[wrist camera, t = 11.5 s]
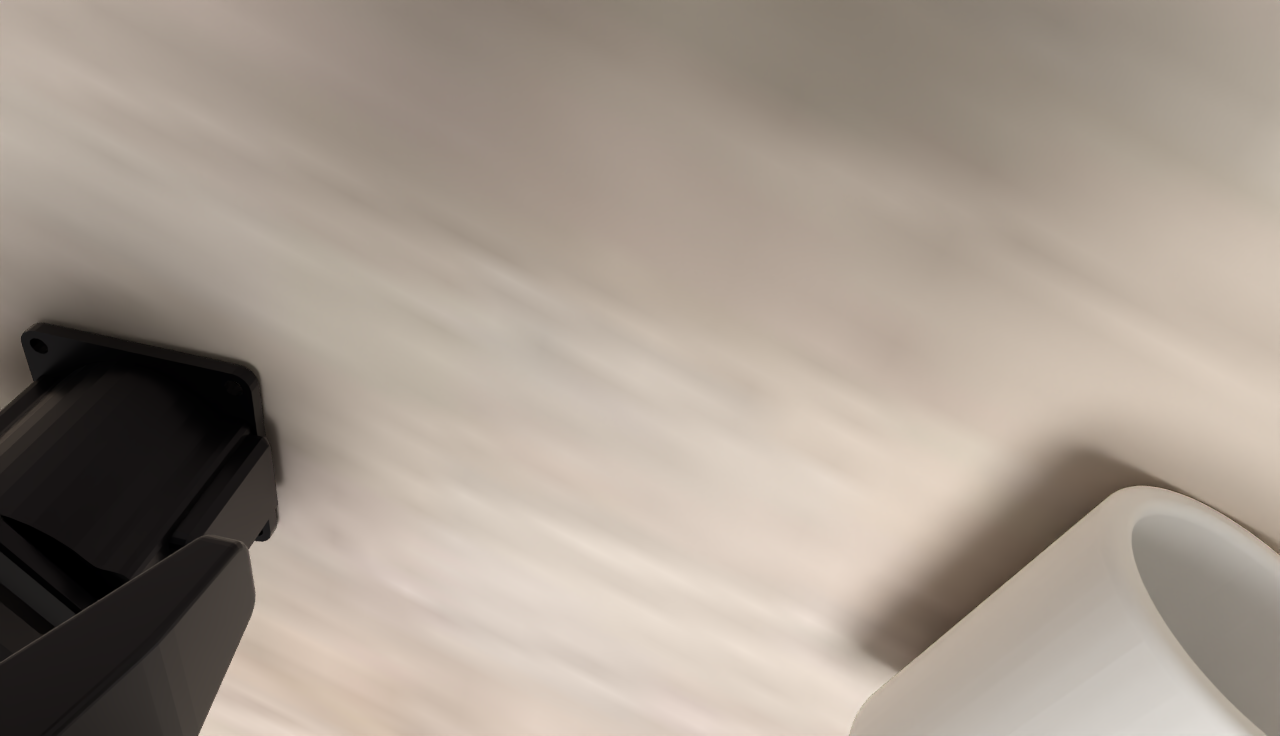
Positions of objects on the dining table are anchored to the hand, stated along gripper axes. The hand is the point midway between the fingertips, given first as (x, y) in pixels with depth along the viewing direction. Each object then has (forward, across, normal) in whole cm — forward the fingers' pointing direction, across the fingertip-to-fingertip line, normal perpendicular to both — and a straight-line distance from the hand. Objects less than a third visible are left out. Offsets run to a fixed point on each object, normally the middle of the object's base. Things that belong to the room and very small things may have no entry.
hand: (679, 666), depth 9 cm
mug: (+13, -13, +12) cm, 22 cm away
